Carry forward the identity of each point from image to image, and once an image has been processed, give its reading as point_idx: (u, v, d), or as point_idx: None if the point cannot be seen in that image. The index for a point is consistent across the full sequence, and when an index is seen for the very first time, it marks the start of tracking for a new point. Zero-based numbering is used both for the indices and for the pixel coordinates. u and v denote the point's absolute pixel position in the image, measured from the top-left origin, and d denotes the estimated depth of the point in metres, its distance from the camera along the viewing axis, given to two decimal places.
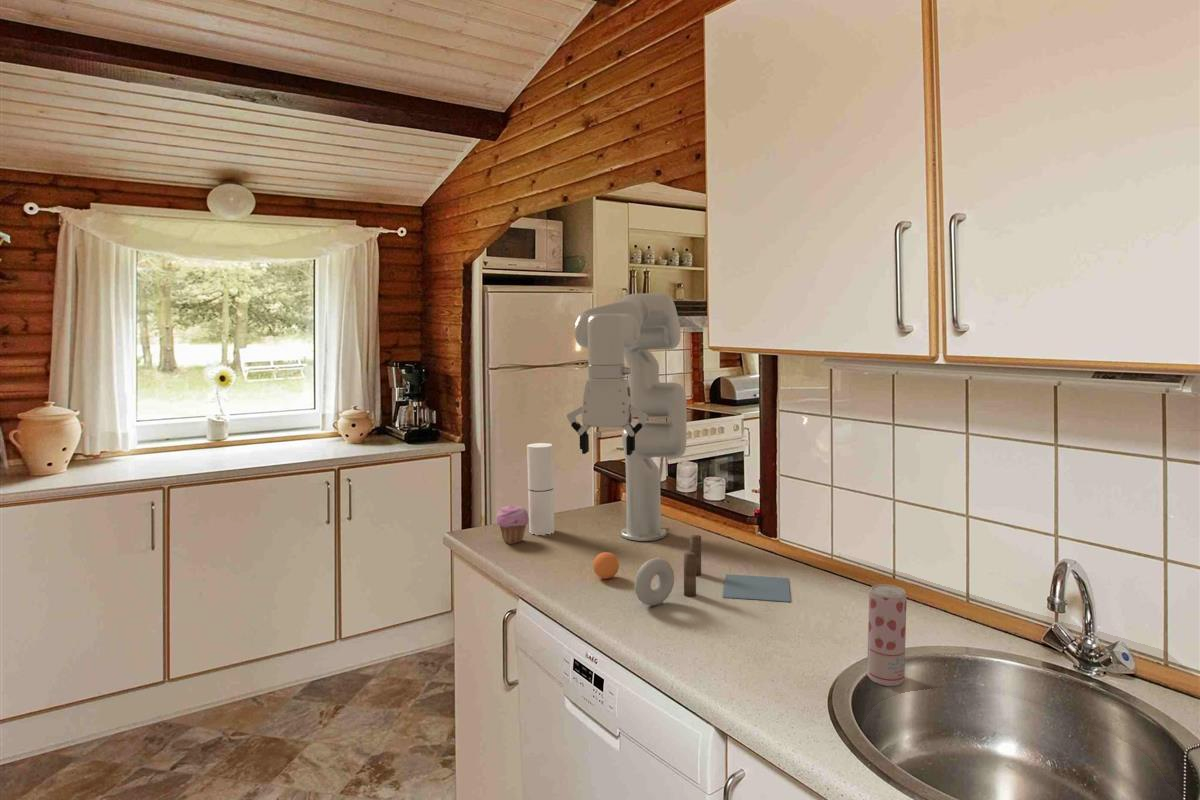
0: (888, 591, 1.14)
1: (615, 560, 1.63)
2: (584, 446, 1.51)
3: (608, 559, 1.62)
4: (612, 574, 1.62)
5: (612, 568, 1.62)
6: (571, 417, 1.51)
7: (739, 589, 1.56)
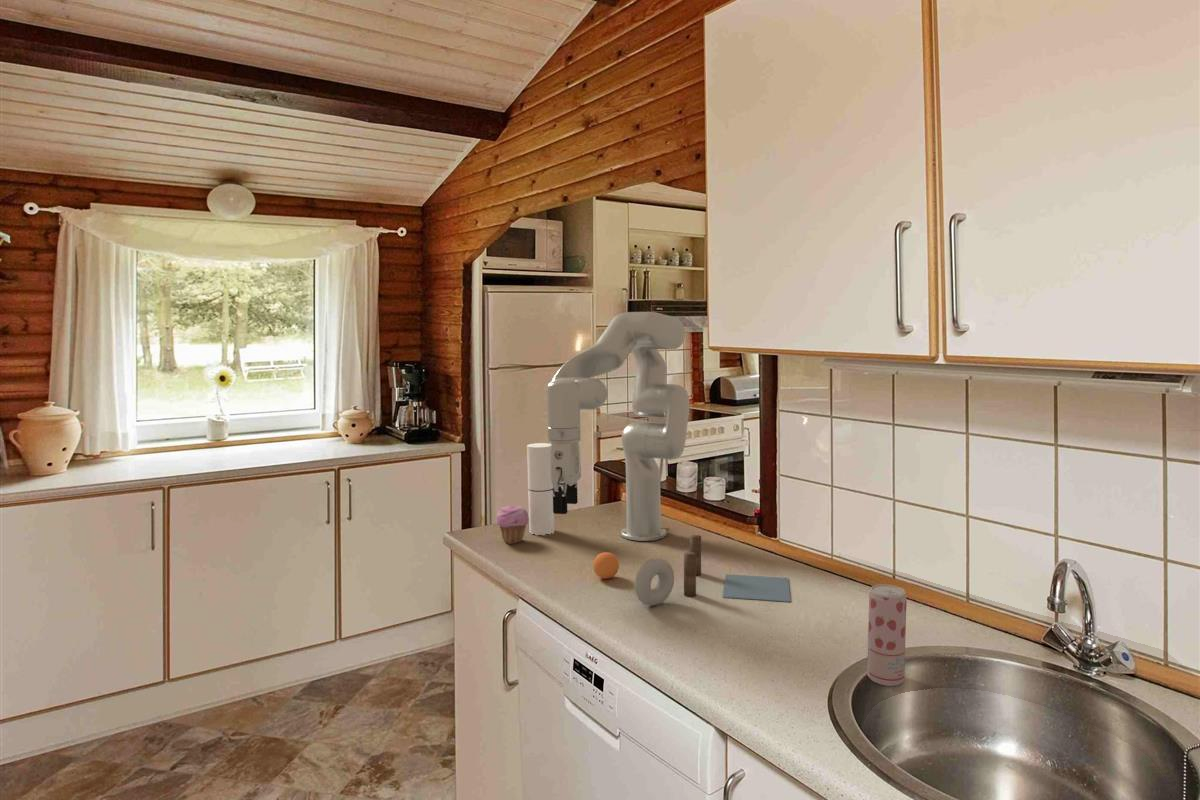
0: (888, 591, 1.14)
1: (615, 560, 1.63)
2: None
3: (608, 559, 1.62)
4: (612, 574, 1.62)
5: (612, 568, 1.62)
6: None
7: (739, 589, 1.56)
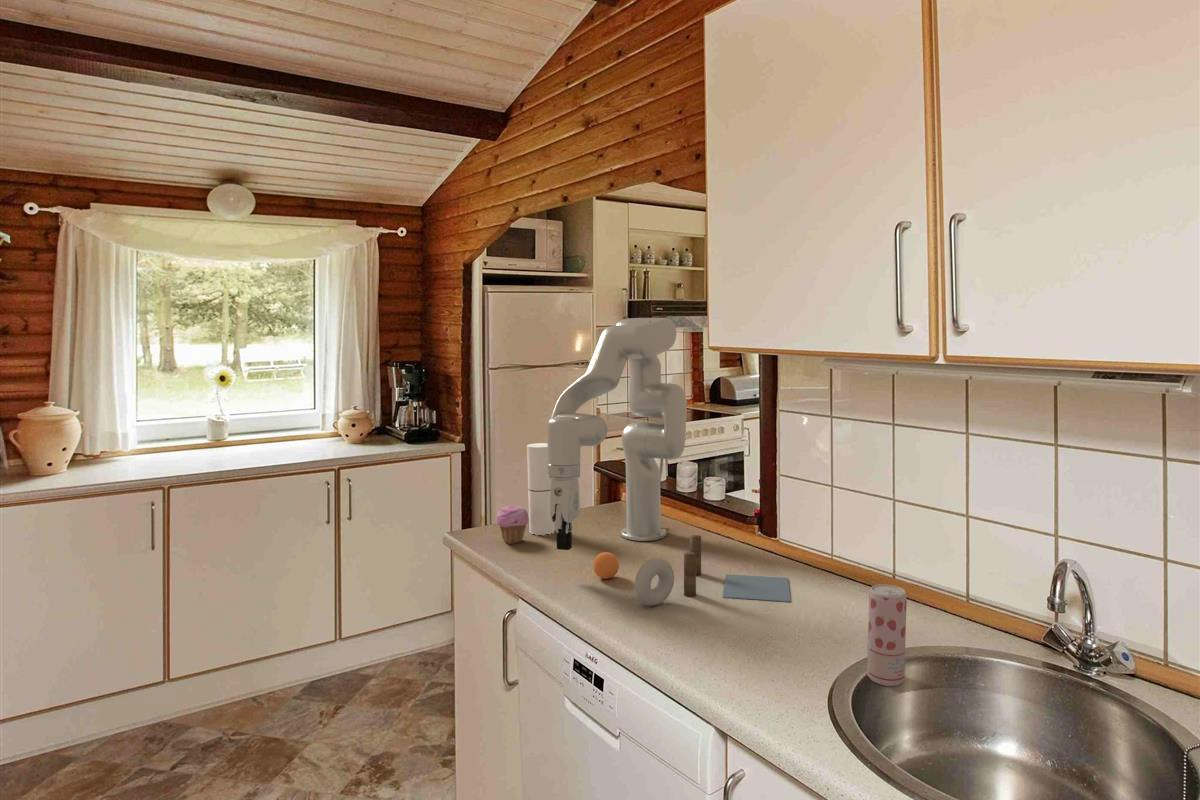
0: (888, 591, 1.14)
1: (615, 560, 1.63)
2: None
3: (608, 559, 1.62)
4: (612, 574, 1.62)
5: (612, 568, 1.62)
6: None
7: (739, 589, 1.56)
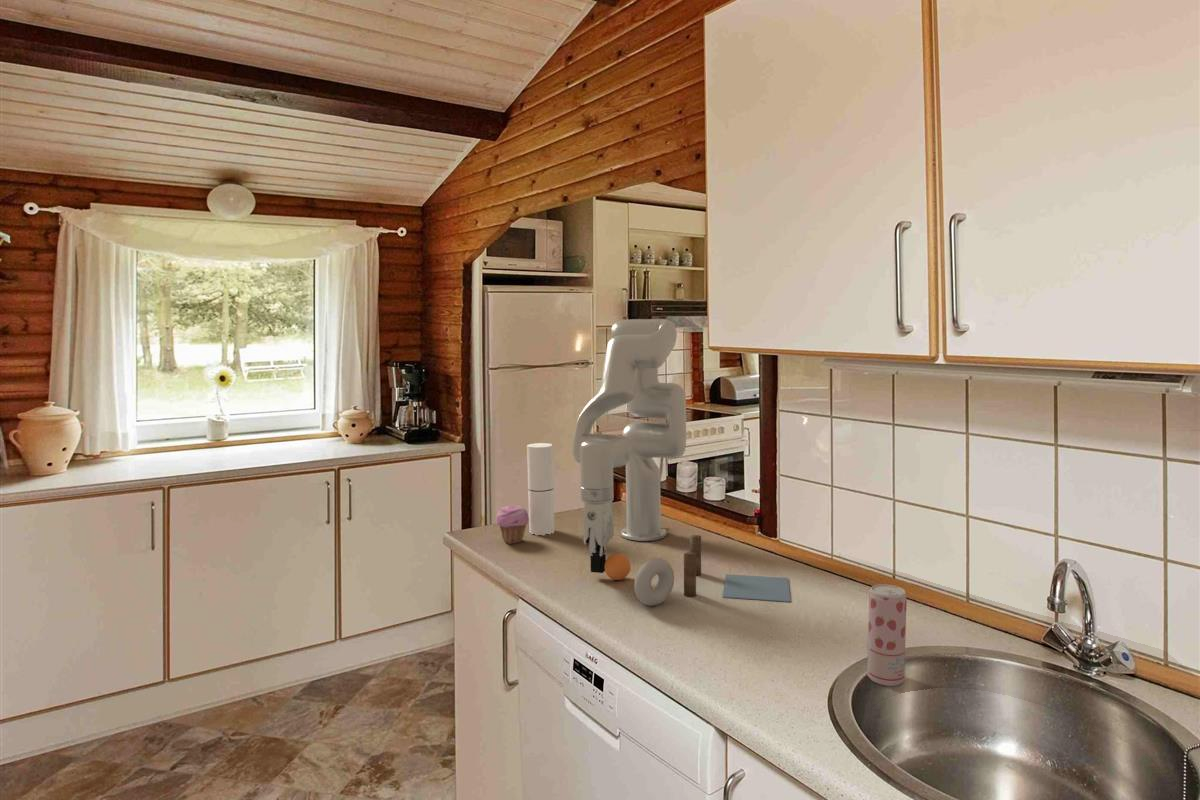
0: (888, 591, 1.14)
1: (629, 569, 1.62)
2: None
3: (624, 566, 1.61)
4: (619, 579, 1.62)
5: (622, 575, 1.61)
6: None
7: (739, 589, 1.56)
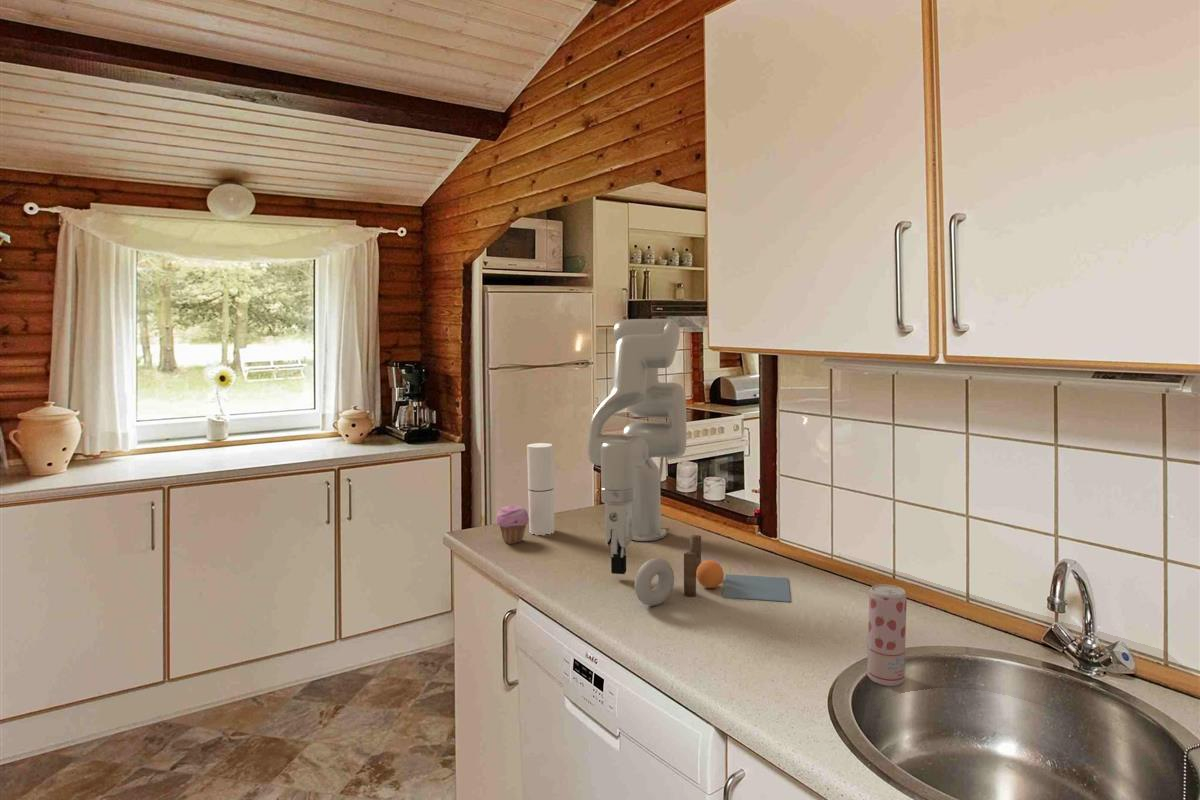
0: (888, 591, 1.14)
1: None
2: None
3: (719, 581, 1.55)
4: (704, 586, 1.57)
5: (711, 586, 1.56)
6: None
7: (739, 589, 1.56)
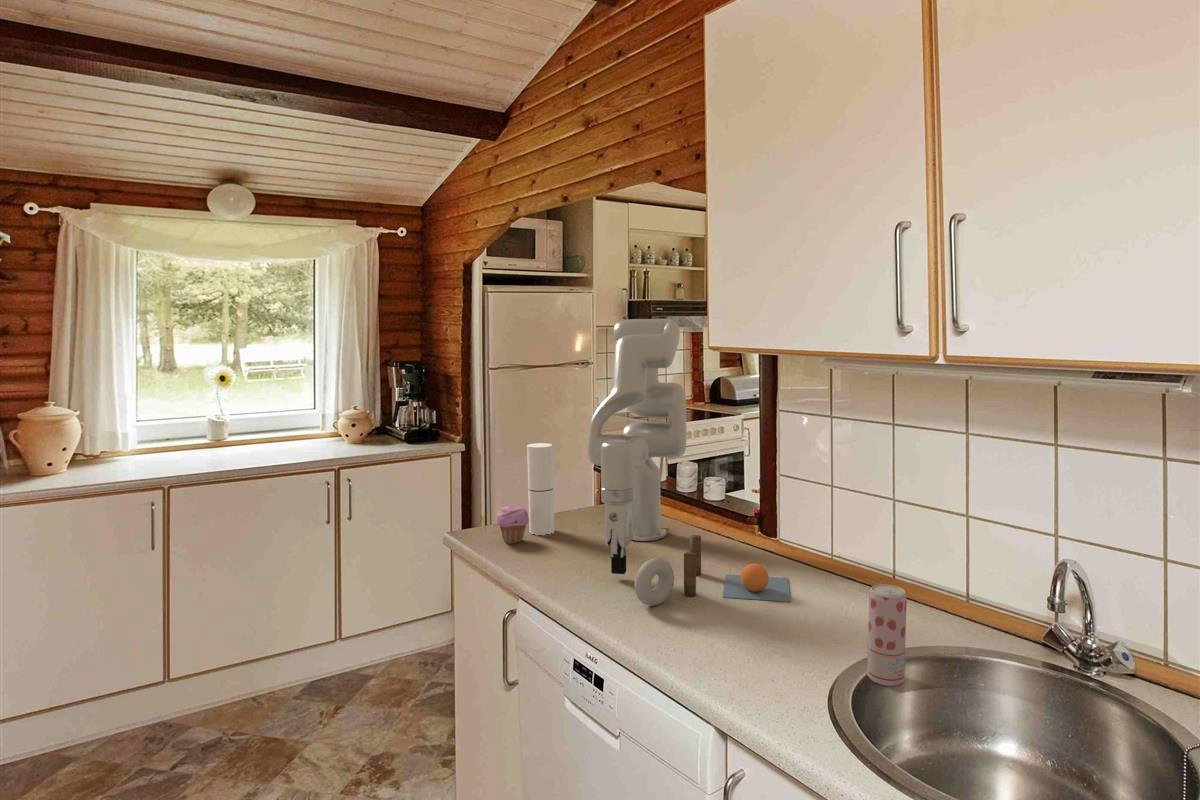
0: (888, 591, 1.14)
1: (745, 567, 1.55)
2: None
3: (744, 575, 1.54)
4: (759, 570, 1.53)
5: (752, 571, 1.53)
6: None
7: (739, 589, 1.56)
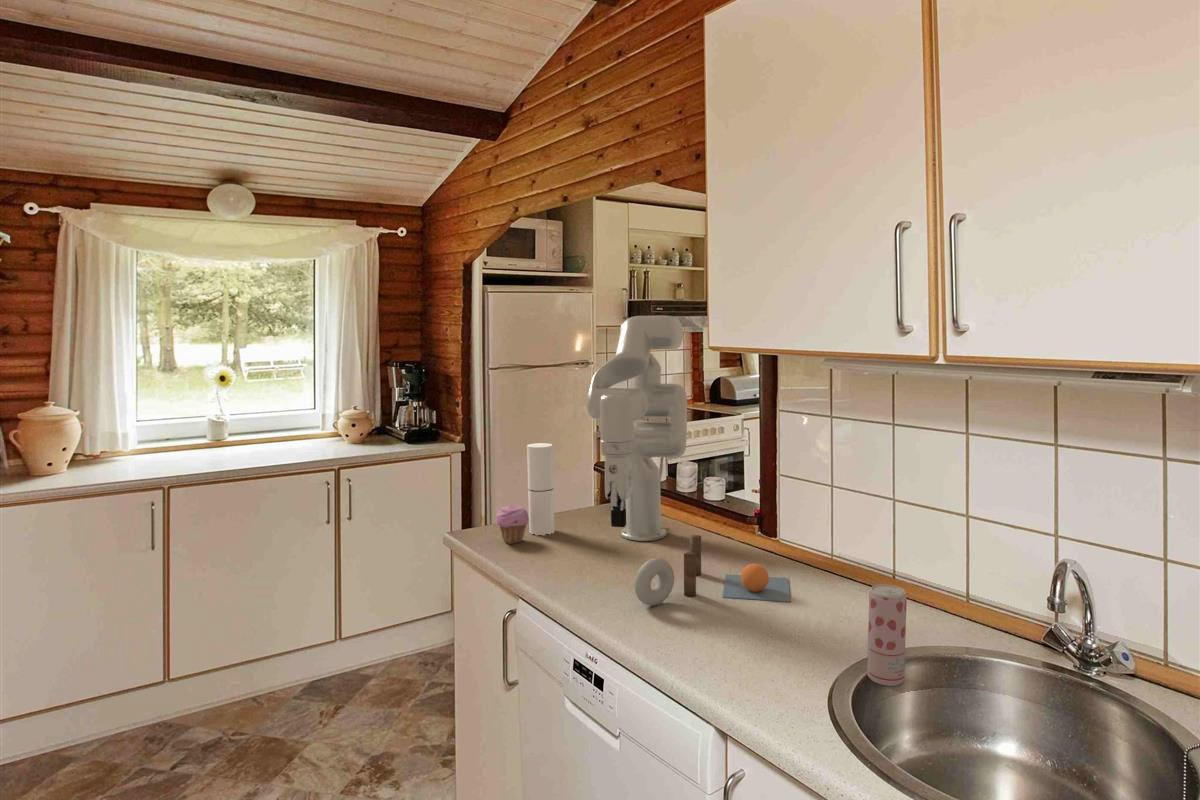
0: (888, 591, 1.14)
1: (745, 567, 1.55)
2: None
3: (744, 575, 1.54)
4: (760, 570, 1.53)
5: (752, 571, 1.53)
6: None
7: (739, 589, 1.56)
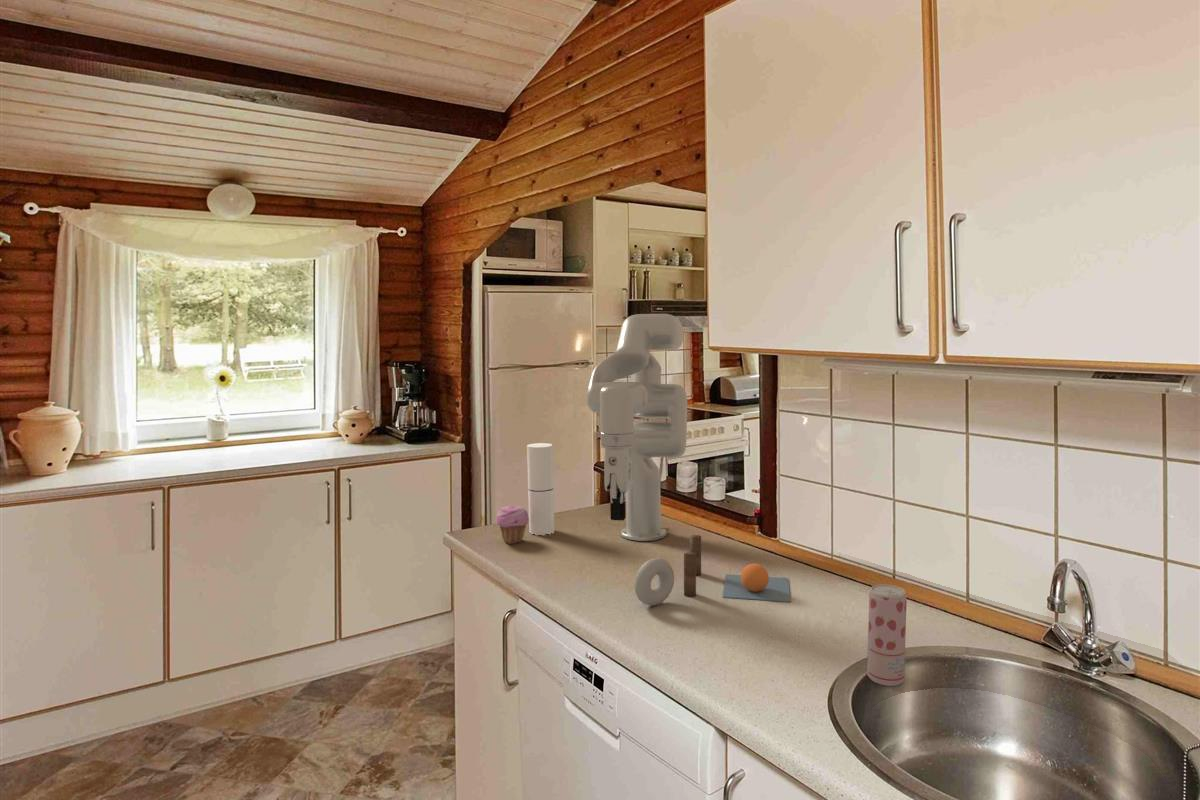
0: (888, 591, 1.14)
1: (745, 567, 1.55)
2: None
3: (744, 575, 1.54)
4: (760, 570, 1.53)
5: (752, 571, 1.53)
6: None
7: (739, 589, 1.56)
